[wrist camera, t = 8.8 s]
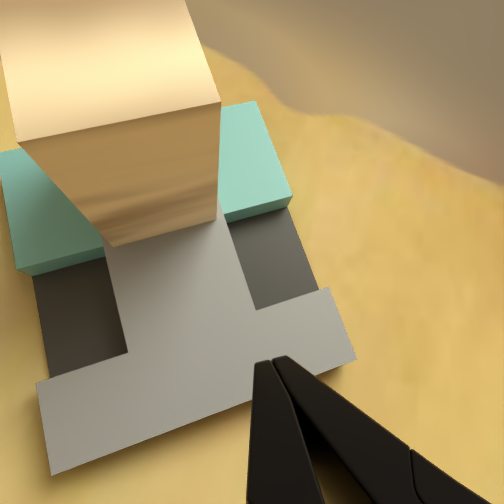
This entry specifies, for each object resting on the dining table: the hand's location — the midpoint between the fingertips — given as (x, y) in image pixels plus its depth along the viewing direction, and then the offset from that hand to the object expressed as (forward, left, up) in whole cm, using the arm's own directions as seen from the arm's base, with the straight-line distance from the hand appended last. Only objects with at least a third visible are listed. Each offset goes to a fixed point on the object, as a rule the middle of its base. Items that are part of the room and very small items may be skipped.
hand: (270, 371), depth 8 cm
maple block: (0, +12, -10) cm, 16 cm away
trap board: (-1, +7, -12) cm, 14 cm away
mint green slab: (0, +12, -12) cm, 17 cm away
